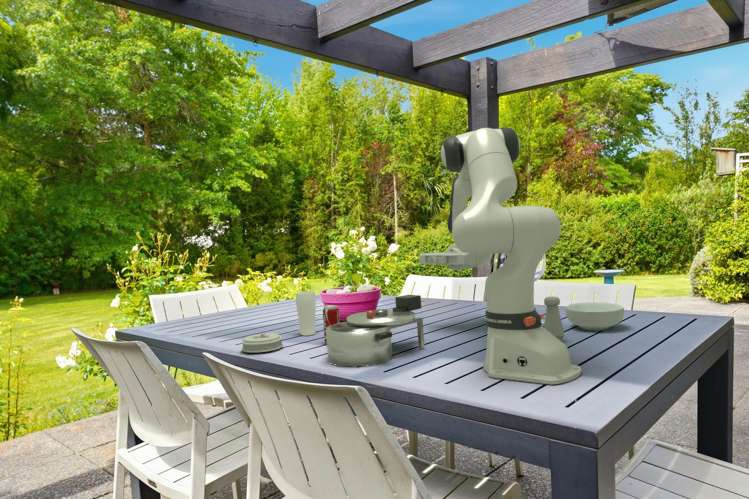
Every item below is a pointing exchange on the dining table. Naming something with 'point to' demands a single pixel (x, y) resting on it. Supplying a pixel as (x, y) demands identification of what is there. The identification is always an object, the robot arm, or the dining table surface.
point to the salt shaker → (553, 317)
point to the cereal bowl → (595, 315)
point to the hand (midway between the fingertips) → (431, 260)
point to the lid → (262, 342)
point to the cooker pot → (363, 343)
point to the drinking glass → (306, 312)
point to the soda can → (330, 317)
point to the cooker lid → (388, 313)
